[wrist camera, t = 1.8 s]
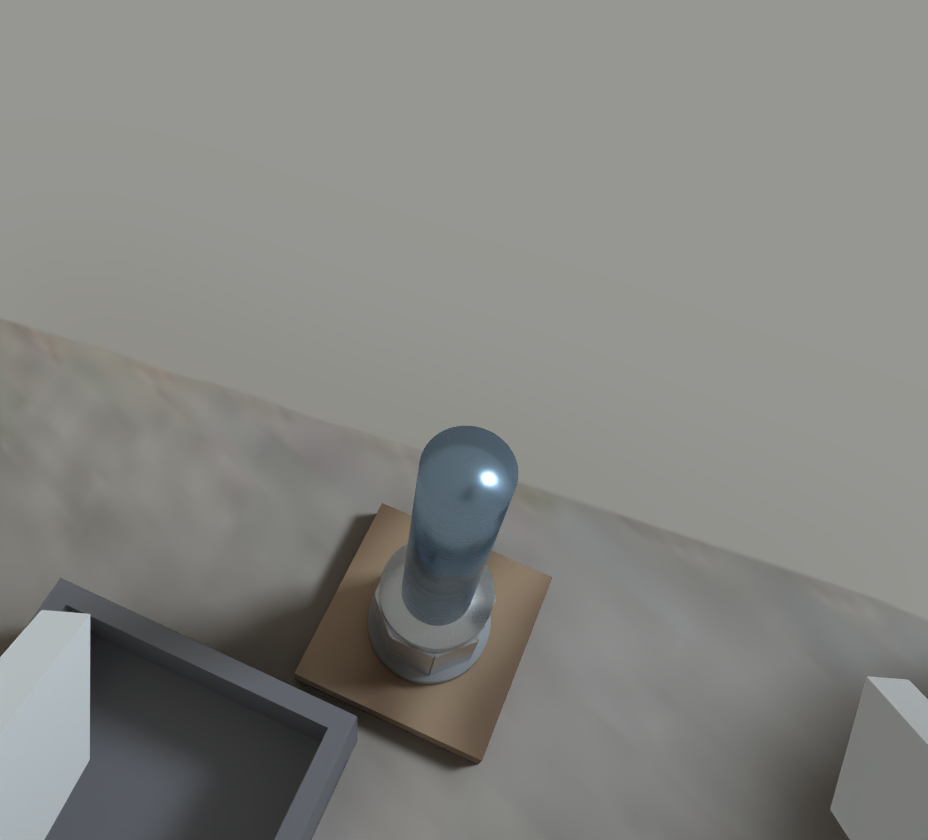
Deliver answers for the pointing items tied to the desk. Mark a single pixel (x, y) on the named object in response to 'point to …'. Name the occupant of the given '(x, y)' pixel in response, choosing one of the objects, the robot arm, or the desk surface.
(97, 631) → the bin
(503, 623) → the stud base
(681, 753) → the desk surface
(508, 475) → the strut
